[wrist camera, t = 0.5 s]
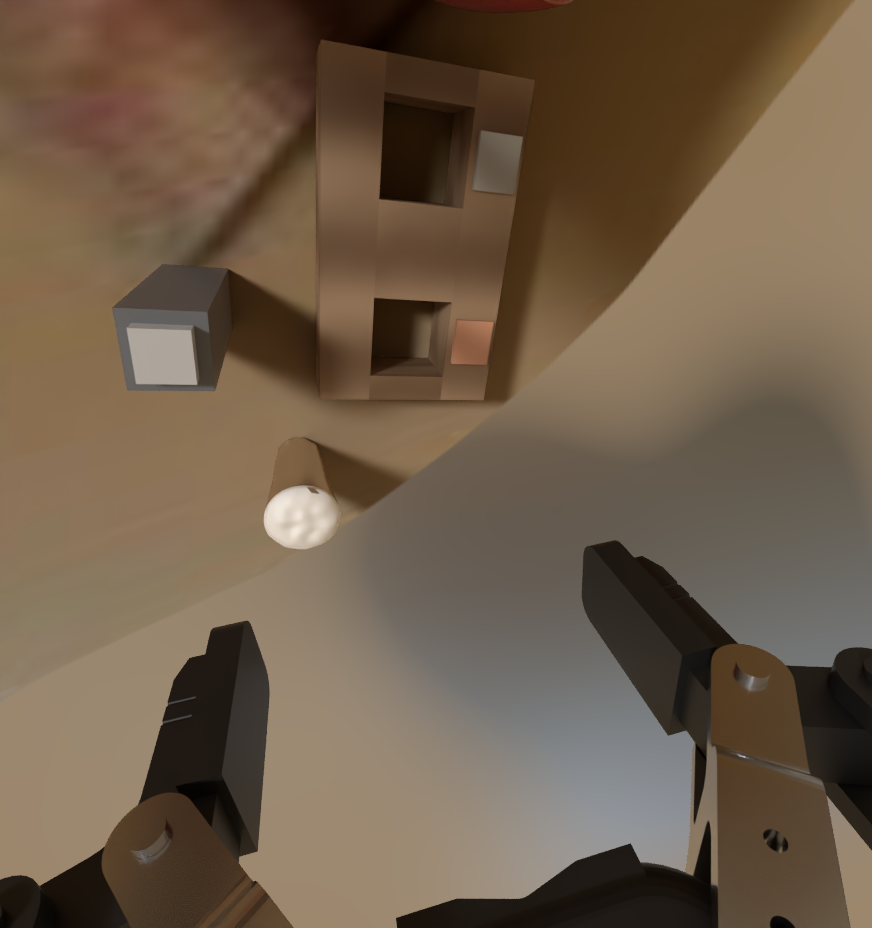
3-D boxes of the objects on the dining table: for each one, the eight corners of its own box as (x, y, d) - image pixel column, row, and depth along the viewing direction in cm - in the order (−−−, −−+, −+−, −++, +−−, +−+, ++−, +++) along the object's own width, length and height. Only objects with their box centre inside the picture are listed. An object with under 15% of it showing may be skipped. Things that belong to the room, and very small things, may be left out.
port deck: (315, 54, 28) (321, 37, 24) (507, 89, 31) (537, 79, 27) (316, 377, 36) (320, 401, 33) (466, 379, 39) (484, 401, 36)
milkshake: (338, 425, 38) (355, 498, 30) (322, 486, 41) (333, 570, 32) (275, 413, 37) (274, 487, 28) (261, 478, 39) (256, 564, 30)
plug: (162, 264, 31) (106, 312, 21) (228, 268, 32) (205, 316, 22) (170, 325, 32) (122, 397, 22) (232, 328, 33) (213, 397, 23)
